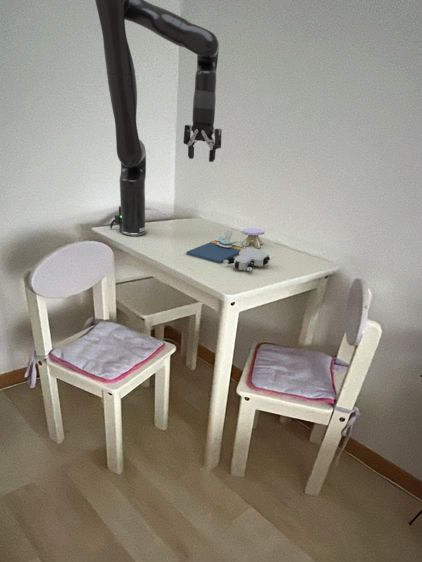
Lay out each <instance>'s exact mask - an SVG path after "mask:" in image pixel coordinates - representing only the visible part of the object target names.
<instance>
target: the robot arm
mask: <svg viewBox="0 0 422 562" xmlns="http://www.w3.org/2000/svg"><path fill="white" fill-rule="evenodd" d="M94 1H95V7H96V10H97V15H98V19H99V23H100V28H101V34H102V41H103V50H104V52H103V53H104V60H105V70H106V78H107V84H108V92H109V97H110V104H111V109H112V114H113V118H114V125H115V143H116V144H115V146H116V155H117V158H118V160H119V162H120V175H119V198H120V199H119V201H120V205H119V206H118V214H116V215H114V219H112V221H111V222H110V225H109V228H110V229H112V228H113V225H114V224H116V225H119V227H118V228H119V232H120V233H121V234H122V235H126V236H129V237H141V236H144V235H146V231H147V230H146V177H147V150H146V147H145V145H144V143H143V140H141V139H140V137H139V132H138V126H137V125H138V123H137V112H138V111H137V109H138V85H137V76H136V69H135V64H134V60H133V56H132V51H131V49H130V45H129V41H128V37H127V32H126V31H127V30H126V21H128V22H132V23H134V24H136V25H139V26H141V27H144V29H147V30H149V31H150V32H151V33H154V34H156V35H157V36H159V37H160V38H162V39H163V40H166V41H168V42H170V43H171V44H174V45H176V46H177V47H180V48H182V49H186V50H187V51H190V52H192V53H193V54H195V55H197V56H196V58H197V59H196V71H195V77H194V91H193V99H192V101H193V102H192V118H191V119H192V125H191V124H185V125H184V128H183V129H184V130H183V132H184V133H183V144H184V145H186V146H187V156H188V159H190V160H193V159H194V157H195V145H196V143H197V142H198V141H200V142H205V143H206V145H208V148H209V152H208V153H209V154H208V162H209V163H213V162H214V161H215V160H216V152H217V150H219V149H221V148H222V134H223V133H222V129H221V128H214V124H215V117H216V116H215V115H216V101H217V99H216V90H217V68H218V62H219V53H220V52H219V51H220V43H219V40H218V37H217V35H216V34H215V33H214V32H212V31H211V30H208V29H207V28H204V27H202V26H199V25H197V24H195V23H192V22H191V21H189V20H188V19H187V18H184V17H182V16H180V15H178V14H176V13H175V12H173V11H170V10H168V9H165V8H163V7H160V6H157V5H155V4H153V3H150V2H148V1H146V0H94ZM125 20H126V21H125ZM213 136H214V137H213Z"/></svg>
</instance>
